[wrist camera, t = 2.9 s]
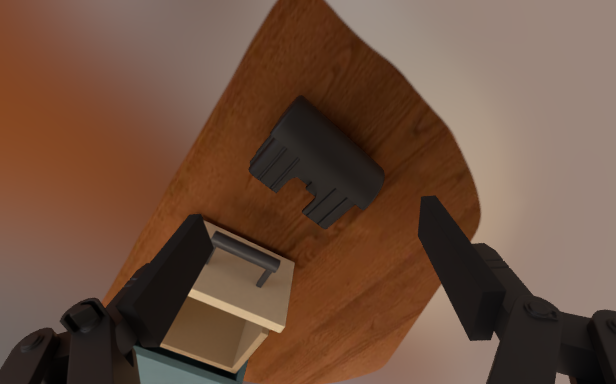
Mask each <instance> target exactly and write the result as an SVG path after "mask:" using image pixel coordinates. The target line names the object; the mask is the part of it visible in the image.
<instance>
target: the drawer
mask: <svg viewBox="0 0 616 384" xmlns="http://www.w3.org/2000/svg"><path fill="white" fill-rule="evenodd" d="M204 223H205V226H206V228H207V231H208V234H209V236H210V239H211V242H212V244H213V247H214V249H213V251H212V253H211V255H210V257H209V258H208V260H207V262H206V264H205V266H204V267H203V269H202V271H201V273H200V275H199V276H198V278H197V280H196V282H195V284H194V285H193V287H192V289H191V291H190V293H189V294H188V296H187V298H186V300H185V302H184V303H183V305H182V307H181V309H180V311H179V312H178V314H177V316H176V318H175V320H174V321H173V323H172V325H171V327H170V329H169V330H168V332H167V334H166V336H165V338H164V339H163V341H162V343H161V345H160V347H163V348H165V349H168V350H171V351H174V352H176V353H179V354H182V355H185V356H188V357H190V358H193V359H196V360H199V361H202V362H204V363H207V364H210V365H213V366H215V367H218V368H221V369H224V370H227V371H229V372H232V373H236V372H237V371H238V370H239V369H240V368H241V366H242V365H243V364H244V363H245V362H246V361H247V359H248V358H249V357H250V356H251V355H252V354H253V352H254V351H255V350H256V349H257V348H258V346H259V345H260V344H261V343H262V342H263V341H264V339H265V338H266V337H267V336H268V333H269V329H271V330H273V331H276V332H278V333H280V332H281V331H282V330H283V329H284V328H285V324H286V317H287V311H288V304H289V297H290V291H291V284H292V278H293V271H294V264H295V263H294V262H292V261H290V260H288V259H286V258H284V257H281V256H279V255H277V254H275V253H273V252H271V251H269V250H266V249H264V248H262V247H260V246H258V245H256V244H254V243H252V242H249V241H247V240H245V239H243V238H241V237H239V236H237V235H234V234H232V233H230V232H228V231H226V230H224V229H222V228H219V227H217V226H215V225H213V224H211V223H209V222H207V221H204Z"/></svg>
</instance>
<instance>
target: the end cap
mask: <svg viewBox="0 0 616 384" xmlns="http://www.w3.org/2000/svg"><path fill="white" fill-rule="evenodd" d="M270 134H271V135H270V136H269V137H268V138H267V140H266V141H265V142H264V143H263V144H262V146H261V147H260V148H259V149H258V151H257V152H256V155H255V156H254V157H253V158H252V160H251V161H250V167H249V172H250V173H251V174H252V175H253V176H254V177H255V178H257V179H258V180H259V181H261V182H262V183H263V184H265V185H266V186H267V187H269V188H270V189H271V190H273V191H274V192H275V193H277V192H278V191H279V190H280V188H281V187H282V186H283V185H284V184H285V183H286V182H287V181H288V180H290V179H292V178H295V177H298V178H299V179H300V180H302V181H303V182H304V183H305V184H307V186H306V190H307V191H309V192H310V193H311V194H313V195H314V196H315V198H314V199H313V200H312V201H311V202H310V203H309V204H308V205H307V206H306V207H305V208H304V209H303V210H302V213H303V214H305V215H306V216H307V217H309V218H310V219H311V220H313V221H314V222H315V223H317V224H318V225H319V226H321V227H322V228H323V229H327V228H328V227H330V226H331V225H332V224H333V223H334V222H335V221H336V220H338V219H339V218H340V217H341V216H342V215H343V214H345V213H346V212H347V211H348V210H349V209H350V208H352V207H353V206H354V205H355V204H356V205H357V206H358V207H359V208H360V209H362V210H365V209H366V208H367V207H368V206H369V205H370V204H371V203H372V201H373V200H374V199H375V198H376V196H377V195H378V193H379V191H380V190H381V187H382V185H383V182H384V176H385V174H384V170H383V169H382V168H381V167H380V166H379V165H378V164H377V163H376V162H375V161H374V160H373V159H371V158H370V157H369V156H368V155H367V154H366V153H365V152H364V151H363V150H362V149H360V148H359V147H358V146H357V145H356V144H355V143H354V142H353V141H352V140H351V139H349V138H348V137H347V136H346V135H345V134H344V133H343V132H342V131H341V130H340V129H338V128H337V127H336V126H335V125H334V124H333V123H332V122H331V121H330V120H329V119H327V118H326V117H325V116H324V115H323V114H322V113H321V112H320V111H319V110H318V109H316V108H315V107H314V106H313V105H312V104H311V103H310V102H309V101H308V100H307V99H305V98H304V97H303V96H301V95H300V96H298V97H297V98H296V99H295V100H294V101H293V102H292V104H291V105H290V106H289V107H288V108H287V110H286V111H285V112H284V113H283V114H282V116H281V117H280V119H279V120H278V122H277V123H276V125H275V126H274V128H273V129H272V131H271V132H270Z"/></svg>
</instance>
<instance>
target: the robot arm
mask: <svg viewBox="0 0 616 384" xmlns="http://www.w3.org/2000/svg"><path fill="white" fill-rule="evenodd" d="M418 237H419V239H420V241H421V243H422V245H423V247H424V249H425V251H426V253H427V255H428V257H429V259H430V261H431V263H432V265H433V267H434V269H435V271H436V273H437V275H438V277H439V279H440V281H441V283H442V285H443V287H444V289H445V291H446V293H447V295H448V297H449V299H450V301H451V303H452V306H453V307H454V310H455V312H456V314H457V315H458V318H459V320H460V322H461V324H462V326H463V327H464V330H465V332H466V334H467V336H468V338H469V340H470V341H477V340H491V338H492V335H493V332H494V331H495V333H496V335H497V336H498V338H499V340H500V343H499V346H498V348H497V351H496V355H495V358H494V361H493V364H492V367H491V370H490V373H489V376H488V379H487V382H486V384H555V378H556V372H558V373H561V374H565V375H568V376H569V379H570V383H571V384H616V311H611V310H599V311H597V312H595V313H594V314H593V316H592V318H587V317H583V316H578V315H573V314H568V313H564V312H561V311H559V310H558V308H556V307H555V306H554V305H553V304H551V303H550V302H548V301H546V300H544V299H542V298H540V297H536V296H533V294H532V293H531V292H530V291H529V290H528V288H527V287H526V286H525V285H524V284H523V283H522V281H521V280H520V279H519V278H518V277H517V276H516V274H515V273H514V272H513V271H512V270H511V269H510V268H509V266H508V265H507V264H506V263H505V261H503V259H502V258H501V256H500V255H499V254H498V253H497V252H496V251H495V250H494V249H492V248H491V247H489V246H488V245H486V244H485V243H478V244H471V242H470V241H469V240H468V238H467V237H466V236H465V234H464V233H463V232H462V230H461V229H460V228H459V226H458V225H457V224H456V222H455V221H454V220H453V218H452V217H451V216H450V214H449V213H448V212H447V210H446V209H445V208H444V206H443V205H442V204H441V202H440V201H439V200H438V198H437V197H436V196H423V197H421V205H420V217H419V228H418ZM213 249H214V247H213V244H212V242H211V239H210V236H209V234H208V231H207V228H206V226H205V223H204V220H203V218H202V215H201V214H193V215H189V216H188V217H187V218H186V220H185V221H184V222H183V223H182V224H181V226H180V227H179V228H178V229H177V231H176V232H175V233H174V234H173V235H172V237H171V238H170V239H169V240H168V242H167V243H166V244H165V245H164V247H163V248H162V249H161V250H160V251H159V253H158V254H157V255H156V256H155V258H154V259H153V260H152V261H151V262H150V263H146V264H145V265H144V266H142V267H141V268H140V269H139V270H137V271H136V272H135V274H134V275H133V276H132V277H131V278H130V281H128V282H127V283H126V284H125V285H124V287H123V288H122V289H121V290H120V291H119V292H118V294H117V295H116V296H115V297H114V298H113V300H112V301H111V302H110V303H109V304H108V305H107V307H106V308H104V306H103V305H102V303H101V302H100V301H99V299H97V298H88V299H86V300H83V301H80V302H79V303H77V304H75V305H74V306H72V307H71V308H70V309H69V310H67V311H66V312H65V313H64V315H63V316H62V318H61V320H60V322H61V324H62V325H63V326H64V327H65V328H66V329H67V332H64V333H60V334H56V333H55V332H54V331H53V329H52V328H43V329H39V330H38V331H35V332H33V333H31V334H30V335H28V336H26V337H25V338H24V339H22V340H21V341H20V342H19V343H18V344H17V345H16V346H15V347H14V349H13V350H12V351H11V353H10V354H9V356H8V358H7V359H6V361H5V363H4V364H3V366H2V367H1V369H0V384H141V382H140V376H139V369H138V362H137V356H136V351H135V349H134V348H133V346H134V344H135V343H136V341H137V340H139V342H140V343H141V345H142V346H143V347H160V345H161V343H162V341H163V339H164V338H165V336H166V334H167V332H168V330H169V329H170V327H171V325H172V323H173V321H174V320H175V318H176V316H177V314H178V312H179V311H180V309H181V307H182V305H183V303H184V302H185V300H186V298H187V296H188V294H189V293H190V291H191V289H192V287H193V285H194V284H195V282H196V280H197V278H198V276H199V275H200V273H201V271H202V269H203V267H204V266H205V264H206V262H207V260H208V258H209V257H210V255H211V253H212V251H213Z"/></svg>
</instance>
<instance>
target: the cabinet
mask: <svg viewBox="0 0 616 384" xmlns="http://www.w3.org/2000/svg"><path fill="white" fill-rule="evenodd" d="M133 348H134V349H135V351H136V356H137V362H138V369H139V376H140V382H141V384H242V382H243V379H244V375H245V371H246V367H247V363H248V359H249V358H248V359H247V361H246V362H245V363H244V364H243V365H242V366H241V368H240V369H239V370H238V371H237V372H236V373H232V372H229V371H227V370H224V369H221V368H218V367H215V366H213V365H210V364H207V363H204V362H202V361H199V360H196V359H193V358H190V357H188V356H185V355H182V354H179V353H176V352H174V351H171V350H168V349H165V348H163V347H143V346H142V345H141V343H140V342H139V340H137V341H136V343H135V344H134V346H133Z"/></svg>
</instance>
